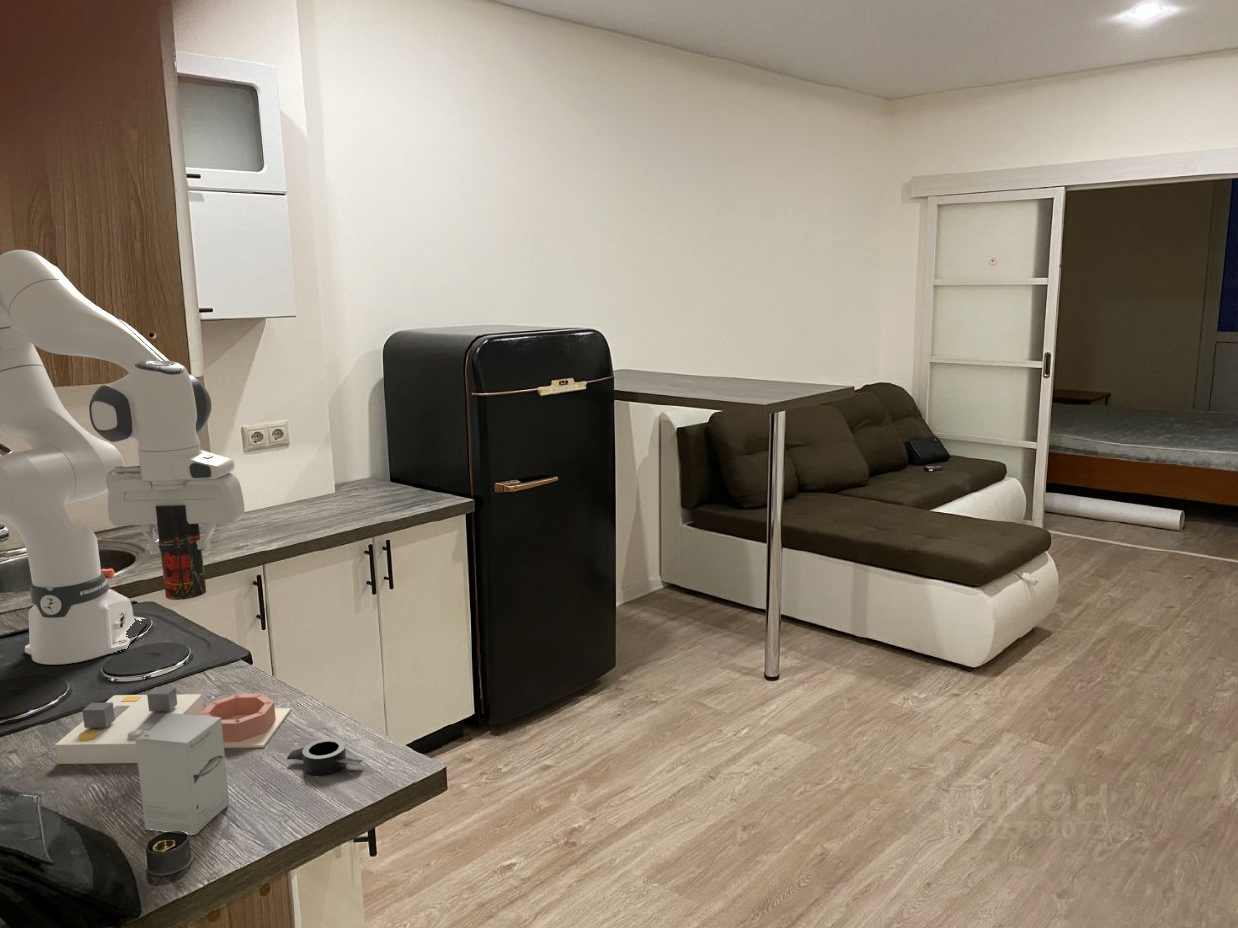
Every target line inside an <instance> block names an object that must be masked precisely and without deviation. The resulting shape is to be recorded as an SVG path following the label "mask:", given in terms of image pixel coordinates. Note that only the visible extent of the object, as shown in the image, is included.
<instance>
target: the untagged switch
mask: <svg viewBox="0 0 1238 928" xmlns="http://www.w3.org/2000/svg"><path fill="white" fill-rule="evenodd" d="M146 695H147V697H148V706H149V711H171V710H172V709H173V708H174V707H175V706H176V705H177V696H176V695H177V689H176V687H175V686H173V687H172V686H171V687H167V686H166V687H165V686H163V687H154V688H153V689H151V690H150V691H149V692H148V693H147V694H146Z"/></svg>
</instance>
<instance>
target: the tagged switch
mask: <svg viewBox="0 0 1238 928" xmlns="http://www.w3.org/2000/svg"><path fill="white" fill-rule="evenodd" d="M81 711H82V718H83V719H82V721H84V727H85V728H106V727H108V726H109V725H110V724H111V723H112V722H113V721H114V720H115V716H114V708H113V703H105V702H90V703H89V704H88V705H87V706H85V708H83V709H82V710H81Z"/></svg>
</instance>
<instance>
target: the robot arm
mask: <svg viewBox="0 0 1238 928" xmlns="http://www.w3.org/2000/svg"><path fill="white" fill-rule="evenodd" d="M36 347H37V348H39V349H40V350H43V351H45V352H48V353H51V354H56V355H63V356H65V355H66V356H75V357H84V358H93V359H98V360H103V361H107V362H111V363H113V364H116V365H118V366H119V367H121V368H123V369H125V371H126V372H128V373H127V374H126V375H125V376H124V377H121V378H119V379H117V380H115V381H112V382H110V383H108V384H105V385H104V384H103V385H101V386H99V387H98V388H97V390H96V391H94V393H93V395H91V399H90V401H89V406H88V407H89V408H88V409H89V412H88V413H89V419H90V422H91V425H92V428H93V429H94V431H96V432H97V434H99V436H101V437H102V439H101V438H99V437H97V436H95V435H94V434H91V433H90V432H89V431H87V430H86V429H85V428H84V427H82V425H80V424H79V423H78V421H76V420H75V418H73V417H72V415H71V414H70V413H69V412H68V411H67V409H66V408H65V406H64V405H63V403H62V402H61V400H60V398H59V396H58V393H57V391H56V389H55V387H54V385H53V383H52V381H51V379H50V377H49V375H48V373H47V369H46V368H45V365H44V363H43V361H42V359H41V357H40V355H39V353H38V351H37V349H36ZM211 412H212V400H211V396H210V394H209V392H208V390H207V389H206V388H205V386H204V384H202V382H200V381H199V380H198V379H197V378H196V377H194V376H193V375H192V374H190V373H189V371H188V369H187V368H186V366H185V365H182V364H180V363H179V362H176V361H171V360H170V359H168V358H167V357H166V355H164V354H163V353H161V352H160V351H159V350H158V349H157V348H156V347H155V346H154V345H152V344H151V343H150V342H149V341H148V340H147V339H146V338H145V337H144V336H143V335H141V334H140V333H139V332H138V331H137V330H136V329H135V328H133V327H132V326H131V325H129V323H127V322H125V321H123V320H122V319H120V318H118V317H116V316H114V315H112V314H110V313H109V312H107V311H105V310H103V308H101V307H99V306H98V305H96V304H94V302H92V301H90V300H89V299H88V298H87V297H85V296H84V295H83V294H82V293H81V292H80V291H79V290H78V289H77V288H76V287H75V286H74V285H73V283H72V282H71V281H70V280H69V279H68V278H67V277H66V276H65V274H64V273H63V272H62V271H61V270H60V269H59V268H58V267H57V266H56V265H55V264H52V263H51V262H49V261H48V260H47V259H46V258H44V257H43V256H42V255H40V254H39V253H36V252H34V251H31V250H27V249H14V250H10V251H6V252H4V253H2V254H1V255H0V431H2V432H4V433H7V434H9V435H13V436H16V437H18V438H19V439H21V440H23V441H24V442H25V443H27V444H28V445H29V446H30V447H31V449H25V450H20V451H19V450H18V451H14V452H9V453H7V454H4V455H1V456H0V517H1V518H3V519H5V520H6V521H7V522H8V523H10V525H12V526H13V527H14V529H15V530H16V531H17V532H18V534H19V535H20V537H21V539H22V541H23V544H24V547H25V550H26V554H27V559H28V565H29V571H30V577H31V582H30V584H29V596H30V599H31V604H33V606H31V607H30V609H29V610H28V632H29V633H28V635H29V636H28V637H29V640H28V641H29V643H28V644H27V645H25V646H24V653H25V654H27V655H30V656H31V660H32V661H33V662H35V663H37V664H41V665H67V664H72V663H73V664H75V663H79V662H84V661H88V660H93V659H96V658H100V657H103V656H106V655H108V654H114V652H115V653H118V652H117V651H118V650H121V649H126V650H128V649H129V648H128V646H129V644H130V639H129V638H128V637H126V636H128V635H126V633H127V632H126V631H127V630H128V629H129V628H130V626H132V624H133V623H134V622H135V620H134V619H136V620H139V621H142V620H141V619H146V618H145V617H142V616H141V617H140V616H134V611H133V605H132V602H131V600H130V599H129V598H128V597H127V596H123V595H122V594H120V593H118V592H116V591H114V590H113V589H110V586H109V583H108V580H113V579H114V577H115V570H114V569H113V568H102V567H101V561H100V554H99V552H100V551H99V545H98V538H97V536H96V534H95V532H94V531H93V530H91V529H90V528H88V527H87V526H85V525H82V524H79V523H76V522H73V521H72V520H71V519H70V518H69V515H68V512H67V509H66V508H67V507H66V506H67V505H68V504H73V503H76V502H80V501H85V500H89V499H93V498H96V497H99V496H102V495H103V494H106V493H107V492H108V496H107V514H108V515H107V517H108V521H110V522H111V524H113V525H114V526H115V527H116V526H117V527H118V526H140V527H139V528H140V532H141V534H142V535H143V536H144V537H145V539H146V540H147V542H149V547H150V552H152V553H154V552H155V553H157V552H158V553H159V552H160V544H159V535H158V533H156V531H155V530H154V529H156V527H157V515H156V507H155V506H174V505H186V516H187V522H188V523H189V524H199V525H200V524H201V530H202V531H204V534H203V535H202V537H200V539H198V540H197V541H196V542H197V545H198V547H197V550H198V551H202V552H203V551H204V552H205V551H209V550H210V549H211V548H212V544H211V542H212V541H211V538H212V536H213V535H214V532H215V530H216V528H217V524H231V523H235V522H237V521H238V520H240V519H242V517H243V516H244V514H245V512H246V511H245V509H246V508H245V500H244V496H243V495H244V494H243V491H242V487H241V484H240V481H239V479H238V477H236V475H234V474H233V473H231V472H233V471H235V470H234V469H235V462H234V460H233V459H232V458H230V457H227V456H225V455H224V456H223V455H220V454H216V453H212V452H209V451H207V450H204V449H202V448H201V441H200V438H199V436H198V433H199V432H200V431H201V430H202V429H203V428H204V427H205V425H206V424H207V422H208V421H209V418H210V416H211ZM103 438H104V439H105V440H104V439H103ZM106 440H107V441H106ZM130 442H137V444H138V445H137V454H138V463H139V465H131V466H125V461H124V459H123V457H122V454H121V452H120V451H119V450H118V448H117V447H115V446H114V445H113V444H112V443H130ZM160 553H161V552H160ZM140 624H141V623H140ZM119 641H127V642H124V643H121V644H119V643H118V642H119ZM129 647H130V646H129ZM127 648H128V649H127Z"/></svg>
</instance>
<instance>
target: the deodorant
mask: <svg viewBox="0 0 1238 928" xmlns="http://www.w3.org/2000/svg"><path fill="white" fill-rule="evenodd" d="M155 507H156V515H157V525H156V527H157V536H158V537H159V544H160V558H161V559H160V560H161V567H162V576H163V584H164V592H165V594H164V595H165V598H166V599H168V600H173V601H180V600H181V601H182V600H190V599H194V598H197V597H201V596H203V595H204V594H206V593H207V587H206V578H205V577H206V576H205V569H204V559H203V551H198V550H197V547H198V545H197V542H196V541H197V540H198V539H200V538H201V533H200V532H201V531H200V530H201V529H200V524H189V523H188V522H187V516H186V505H174V506H155Z"/></svg>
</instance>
